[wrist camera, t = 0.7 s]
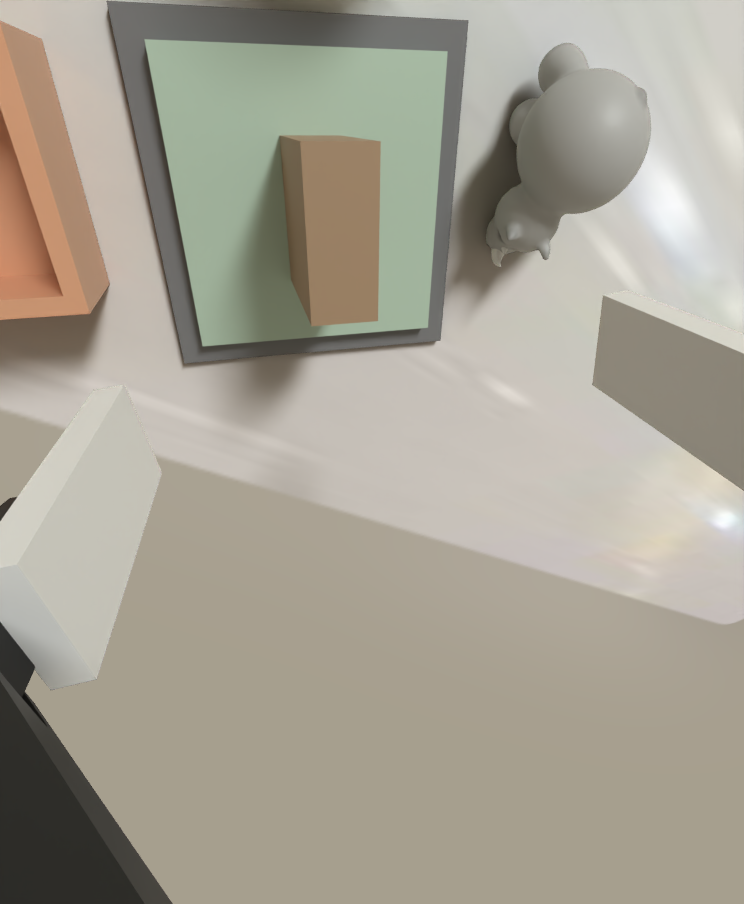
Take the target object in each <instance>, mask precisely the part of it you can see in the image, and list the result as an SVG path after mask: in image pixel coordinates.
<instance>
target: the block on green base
mask: <svg viewBox="0 0 744 904" xmlns="http://www.w3.org/2000/svg"><path fill="white" fill-rule="evenodd" d="M144 40H145V45H146V50H147V56H148V61H149V66H150V71H151V77H152V82H153V87H154V93H155V98H156V103H157V108H158V114H159V119H160V124H161V129H162V135H163V140H164V145H165V151H166V156H167V161H168V166H169V172H170V177H171V182H172V187H173V193H174V198H175V203H176V209H177V214H178V219H179V224H180V230H181V235H182V240H183V245H184V251H185V256H186V261H187V267H188V272H189V277H190V282H191V288H192V293H193V298H194V303H195V309H196V314H197V319H198V325H199V330H200V335H201V340H202V346H214V345H226V344H238V343H250V342H262V341H274V340H286V339H298V338H310V337H322V336H334V335H346V334H359V333H371V332H383V331H395V330H407V329H419V328H428V318H429V304H430V290H431V277H432V263H433V249H434V235H435V221H436V207H437V193H438V179H439V165H440V151H441V137H442V123H443V109H444V95H445V81H446V67H447V53H448V51H426V50H401V49H376V48H351V47H326V46H301V45H276V44H251V43H225V42H200V41H175V40H150V39H144Z"/></svg>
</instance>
